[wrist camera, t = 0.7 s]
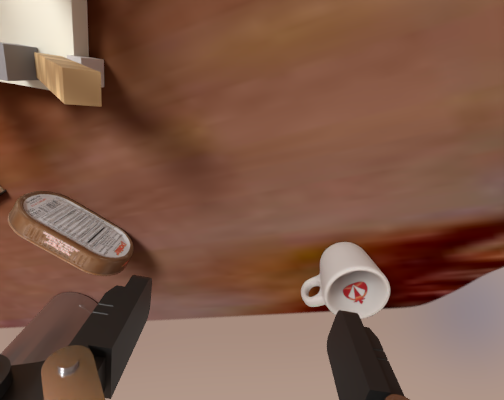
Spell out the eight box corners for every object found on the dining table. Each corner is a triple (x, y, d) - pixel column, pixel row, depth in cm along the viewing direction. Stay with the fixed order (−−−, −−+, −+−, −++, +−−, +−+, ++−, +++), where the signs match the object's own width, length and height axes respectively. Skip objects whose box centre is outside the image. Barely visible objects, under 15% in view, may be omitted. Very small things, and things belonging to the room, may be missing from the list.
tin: (37, 196, 42) (-13, 224, 34) (46, 179, 41) (-5, 203, 33) (135, 252, 45) (109, 290, 37) (145, 237, 44) (120, 272, 36)
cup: (309, 295, 47) (317, 336, 40) (287, 255, 44) (292, 291, 37) (377, 268, 45) (399, 307, 37) (358, 225, 42) (378, 257, 35)
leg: (63, 80, 33) (101, 106, 23) (36, 77, 32) (64, 104, 21) (61, 56, 32) (100, 72, 22) (34, 52, 31) (62, 67, 20)
